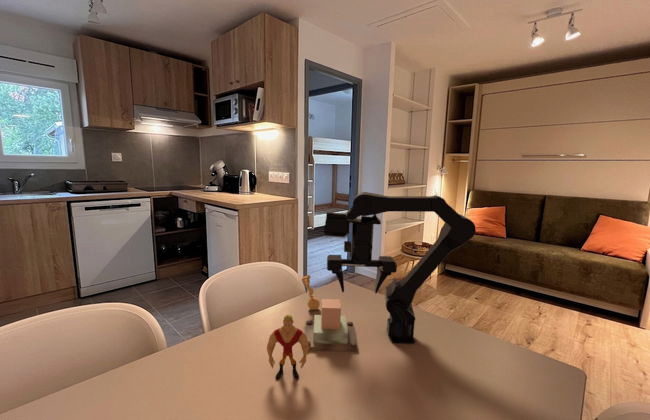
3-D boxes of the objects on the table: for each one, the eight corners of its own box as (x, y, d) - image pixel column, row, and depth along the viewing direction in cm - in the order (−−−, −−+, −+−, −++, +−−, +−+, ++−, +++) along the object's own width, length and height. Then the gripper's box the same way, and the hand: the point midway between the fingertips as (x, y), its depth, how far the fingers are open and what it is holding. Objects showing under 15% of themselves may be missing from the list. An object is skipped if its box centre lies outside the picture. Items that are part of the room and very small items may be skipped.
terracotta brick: (339, 319, 84) (339, 299, 83) (340, 329, 79) (340, 308, 78) (321, 318, 84) (322, 299, 83) (321, 328, 79) (322, 307, 78)
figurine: (321, 315, 94) (322, 279, 92) (302, 316, 93) (303, 280, 91) (317, 302, 102) (318, 269, 100) (300, 303, 101) (300, 270, 99)
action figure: (265, 381, 65) (265, 318, 63) (267, 369, 69) (267, 310, 66) (308, 381, 66) (309, 318, 63) (308, 369, 69) (309, 310, 67)
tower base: (352, 325, 88) (353, 313, 88) (357, 351, 77) (358, 337, 76) (305, 324, 88) (306, 311, 88) (303, 350, 76) (303, 335, 76)
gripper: (389, 232, 89) (386, 281, 92) (327, 230, 89) (325, 280, 91) (399, 242, 78) (394, 298, 81) (328, 240, 78) (326, 296, 80)
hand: (359, 292), depth 84 cm, fingers open, 9 cm apart
